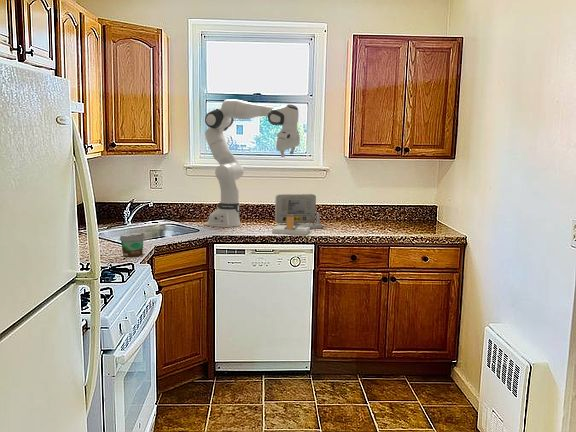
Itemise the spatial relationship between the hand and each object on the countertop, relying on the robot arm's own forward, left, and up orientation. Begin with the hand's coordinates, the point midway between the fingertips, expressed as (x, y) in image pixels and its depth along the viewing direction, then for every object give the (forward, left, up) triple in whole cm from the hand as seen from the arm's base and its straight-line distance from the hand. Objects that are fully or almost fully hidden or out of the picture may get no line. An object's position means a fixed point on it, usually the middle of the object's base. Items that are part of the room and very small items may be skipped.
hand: (287, 155), depth 328 cm
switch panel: (+5, -7, -45) cm, 46 cm away
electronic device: (+14, +11, -45) cm, 49 cm away
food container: (-53, -91, -45) cm, 115 cm away
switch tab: (+5, -11, -42) cm, 44 cm away
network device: (+3, +17, -45) cm, 48 cm away
